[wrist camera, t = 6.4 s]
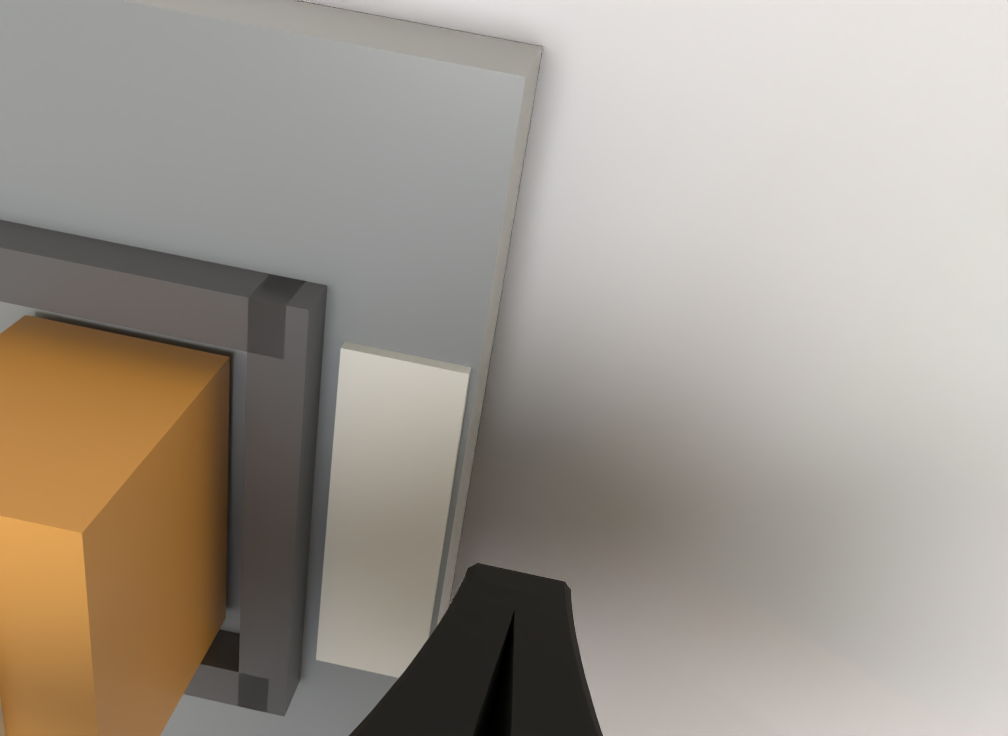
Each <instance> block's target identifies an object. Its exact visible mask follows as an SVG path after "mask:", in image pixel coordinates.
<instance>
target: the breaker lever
mask: <svg viewBox="0 0 1008 736" xmlns="http://www.w3.org/2000/svg"><path fill="white" fill-rule="evenodd" d="M229 375H230V357H228V356H223V355H218V354H213V353H208V352H204V351H199V350H194V349H189V348H184V347H179V346H174V345H169V344H165V343H160V342H155V341H150V340H145V339H140V338H135V337H131V336H126V335H121V334H116V333H111V332H106V331H101V330H96V329H92V328H87V327H82V326H77V325H72V324H67V323H62V322H58V321H53V320H48V319H43V318H38V317H33V316H28V315H25V316H23V317H22V318H21V319H19V320H18V321H17V322H15V323H14V324H13V325H11V326H10V327H9V328H7V329H6V330H4V331H3V332H2V333H0V736H160V735H161V733H162V731H163V730H164V728H165V726H166V724H167V722H168V721H169V719H170V717H171V715H172V714H173V712H174V710H175V708H176V706H177V705H178V703H179V701H180V699H181V697H182V696H183V694H184V692H185V690H186V688H187V687H188V685H189V683H190V681H191V679H192V678H193V676H194V674H195V672H196V671H197V669H198V667H199V665H200V663H201V662H202V660H203V658H204V656H205V654H206V653H207V651H208V649H209V647H210V645H211V644H212V642H213V640H214V638H215V636H216V635H217V633H218V631H219V629H220V628H221V626H222V624H223V622H224V620H225V619H226V569H227V504H228V440H229Z"/></svg>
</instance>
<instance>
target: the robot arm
mask: <svg viewBox="0 0 1008 736" xmlns="http://www.w3.org/2000/svg"><path fill="white" fill-rule="evenodd" d="M349 736H603V735H602V732H601V729H600V726H599V723H598V719H597V716H596V713H595V709H594V706H593V702H592V699H591V695H590V692H589V688H588V685H587V681H586V678H585V674H584V670H583V665H582V661H581V657H580V652H579V647H578V643H577V638H576V632H575V626H574V620H573V613H572V603H571V590H570V588H569V587H568V586H567V584H566V583H565V582H563V581H559V580H554V579H549V578H545V577H540V576H535V575H531V574H526V573H521V572H517V571H512V570H507V569H503V568H498V567H493V566H489V565H484V564H479V563H477V564H475V565H473V566H471V567H469V568H468V570H467V573H466V575H465V578H464V580H463V582H462V584H461V586H460V588H459V590H458V592H457V594H456V596H455V598H454V599H453V601H452V603H451V605H450V606H449V608H448V610H447V611H446V613H445V614H444V616H443V617H442V619H441V621H440V622H439V624H438V625H437V627H436V628H435V630H434V631H433V633H432V634H431V635H430V637H429V638H428V640H427V641H426V642H425V644H424V645H423V647H422V648H421V649H420V651H419V652H418V654H417V655H416V656H415V658H414V659H413V661H412V662H411V663H410V665H409V666H408V667H407V669H406V670H405V671H404V672H403V674H402V675H401V676H400V677H399V678H398V680H397V681H396V682H395V683H394V684H393V686H392V687H391V688H390V689H389V690H388V692H387V693H386V694H385V695H384V696H383V698H382V699H381V700H380V701H379V702H378V704H377V705H376V706H375V707H374V708H373V710H372V711H371V712H370V713H369V714H368V715H367V716H366V717H365V719H364V720H363V721H362V722H361V723H360V724H359V725H358V726H357V727H356V728H355V729H354V730H353V732H352V733H351V734H350V735H349Z"/></svg>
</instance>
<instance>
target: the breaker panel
mask: <svg viewBox="0 0 1008 736" xmlns="http://www.w3.org/2000/svg"><path fill="white" fill-rule="evenodd" d="M542 49H543V47H542V46H537V45H531V44H526V43H521V42H515V41H510V40H505V39H499V38H494V37H489V36H483V35H478V34H473V33H467V32H462V31H457V30H451V29H446V28H441V27H435V26H430V25H425V24H419V23H414V22H409V21H403V20H398V19H393V18H387V17H382V16H376V15H371V14H366V13H360V12H355V11H350V10H344V9H339V8H334V7H328V6H323V5H318V4H312V3H307V2H302V1H296V0H0V333H2V332H3V331H4V330H6V329H7V328H9V327H10V326H11V325H13V324H14V323H15V322H17V321H18V320H19V319H21V318H22V317H23V316H25V315H28V316H33V317H38V318H43V319H48V320H53V321H58V322H62V323H67V324H72V325H77V326H82V327H87V328H92V329H96V330H101V331H106V332H111V333H116V334H121V335H126V336H131V337H135V338H140V339H145V340H150V341H155V342H160V343H165V344H169V345H174V346H179V347H184V348H189V349H194V350H199V351H204V352H208V353H213V354H218V355H223V356H228V357H230V375H229V440H228V504H227V569H226V619H225V620H224V622H223V624H222V626H221V628H220V629H219V631H218V633H217V635H216V636H215V638H214V640H213V642H212V644H211V645H210V647H209V649H208V651H207V653H206V654H205V656H204V658H203V660H202V662H201V663H200V665H199V667H198V669H197V671H196V672H195V674H194V676H193V678H192V679H191V681H190V683H189V685H188V687H187V688H186V690H185V692H184V694H183V696H182V697H181V699H180V701H179V703H178V705H177V706H176V708H175V710H174V712H173V714H172V715H171V717H170V719H169V721H168V722H167V724H166V726H165V728H164V730H163V731H162V733H161V735H160V736H349V735H350V734H351V733H352V732H353V730H354V729H355V728H356V727H357V726H358V725H359V724H360V723H361V722H362V721H363V720H364V719H365V717H366V716H367V715H368V714H369V713H370V712H371V711H372V710H373V708H374V707H375V706H376V705H377V704H378V702H379V701H380V700H381V699H382V698H383V696H384V695H385V694H386V693H387V692H388V690H389V689H390V688H391V687H392V686H393V684H394V683H395V682H396V681H397V680H398V678H399V677H400V676H401V675H402V674H403V672H404V671H405V670H406V669H407V667H408V666H409V665H410V663H411V662H412V661H413V659H414V658H415V656H416V655H417V654H418V652H419V651H420V649H421V648H422V647H423V645H424V644H425V642H426V641H427V640H428V638H429V637H430V635H431V634H432V633H433V631H434V630H435V628H436V627H437V625H438V624H439V622H440V621H441V619H442V617H443V616H444V614H445V613H446V611H447V610H448V608H449V602H450V597H451V591H452V585H453V579H454V573H455V567H456V561H457V555H458V549H459V543H460V537H461V531H462V525H463V519H464V513H465V507H466V501H467V495H468V489H469V483H470V477H471V471H472V466H473V460H474V454H475V448H476V442H477V436H478V430H479V424H480V418H481V412H482V406H483V400H484V394H485V388H486V382H487V376H488V370H489V364H490V358H491V352H492V346H493V340H494V335H495V329H496V323H497V317H498V311H499V305H500V299H501V293H502V287H503V281H504V275H505V269H506V263H507V257H508V251H509V245H510V239H511V233H512V227H513V221H514V215H515V209H516V204H517V198H518V192H519V186H520V180H521V174H522V168H523V162H524V156H525V150H526V144H527V138H528V132H529V126H530V120H531V114H532V108H533V102H534V96H535V90H536V84H537V78H538V73H539V67H540V61H541V55H542Z"/></svg>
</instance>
